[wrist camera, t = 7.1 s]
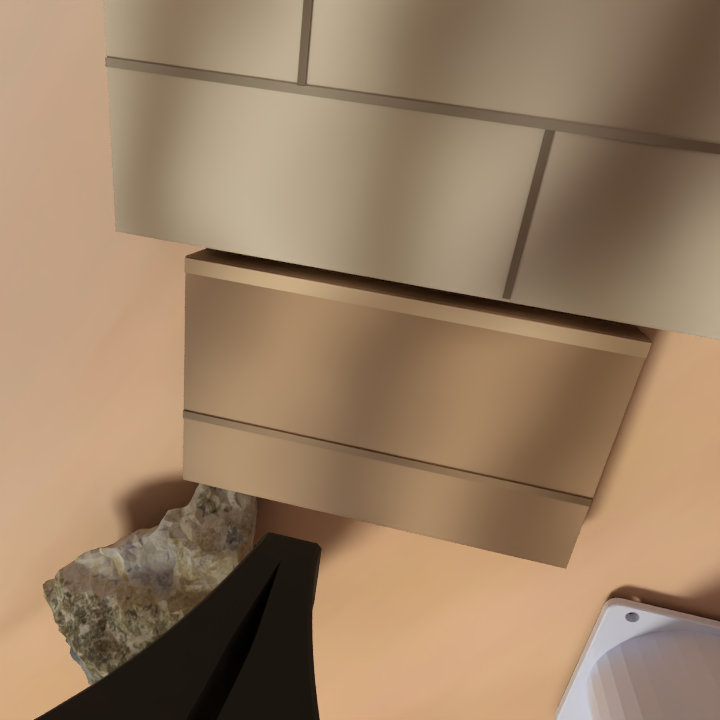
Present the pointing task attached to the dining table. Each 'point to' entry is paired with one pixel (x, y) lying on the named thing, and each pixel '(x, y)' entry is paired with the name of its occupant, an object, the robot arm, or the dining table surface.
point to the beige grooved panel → (434, 144)
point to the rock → (149, 578)
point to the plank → (401, 403)
